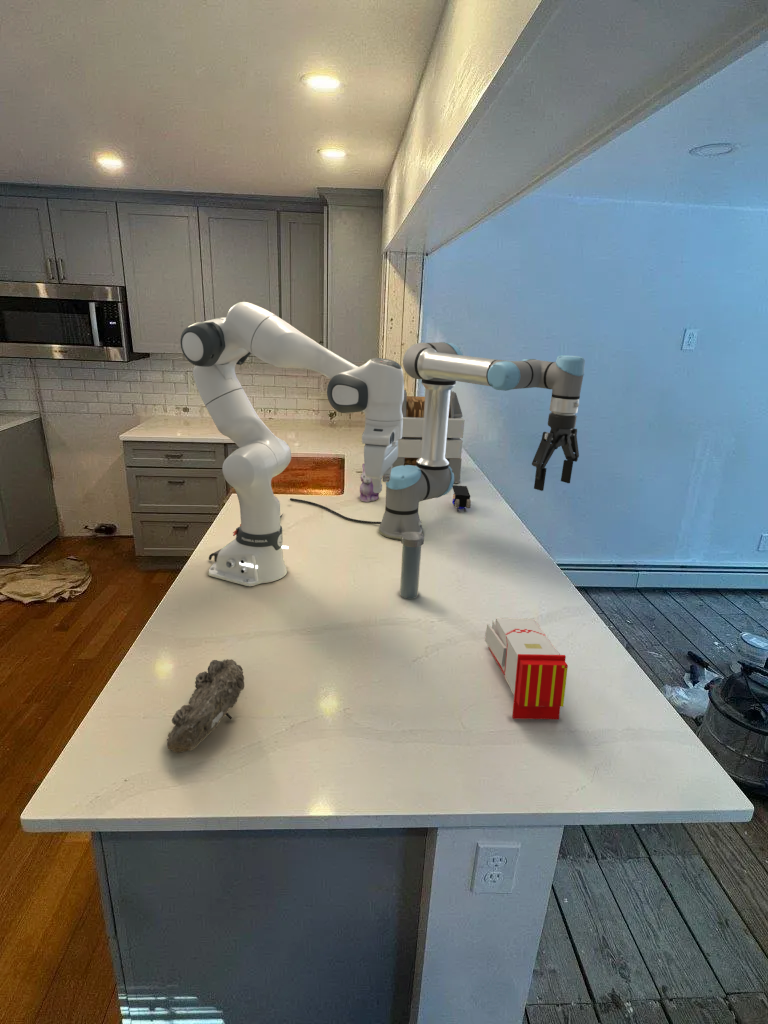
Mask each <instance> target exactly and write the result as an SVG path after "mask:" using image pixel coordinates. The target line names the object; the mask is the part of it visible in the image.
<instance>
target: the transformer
mask: <svg viewBox="0 0 768 1024" xmlns="http://www.w3.org/2000/svg"><path fill="white" fill-rule="evenodd" d="M407 394H408V393H407V390H406V389H404V401H403V404H402V414H403V431H402V439H400V440H398V457H397V460H396V461H395V462H394V463H393V464H392V468H394V467H396V466H401V465H404V466H405V465H413V466H416V461H417V459H418V458H420V457H421V449H422V434H423V419H424V404H425V396H415V395H414V396H413V395H412V396H411V395H407ZM464 429H465V419H464V418H463V411H462V408H461V405H460V402H459V398H458V395H457V392H455V391H453V390H451V392H450V404H449V416H448V428H447V441H446V453H445V458H446V459H447V461H448V462H449V466H450V467H451V469H452V473H454V484H455V483H456V484H459V483H461V472H462V461H463V460H462V453H463V442H464V441H463V440H462V439H463V438H464V431H465V430H464Z"/></svg>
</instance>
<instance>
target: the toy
mask: <svg viewBox="0 0 768 1024" xmlns="http://www.w3.org/2000/svg"><path fill="white" fill-rule="evenodd" d="M484 642H485V643H486V645H487V646H488V650H489V651H490V654H491V655H492V657H493V659H494V660H495V662H496V664H497V666H498V667H499V669H500V671H501V672H502V675H503V676H504V678H505V680H506V682H507V684H508V686H509V688H510V691H511V693H512V694H513V704H512V705H513V706H512V715H511V717H512V719H513V720H560V714H561V708H563V707H564V704H565V695H566V685H567V677H568V668H569V666H568V663H567V662H566V657H567V656H566V654H560V653H559V651H558V650H557V648H556V647H555V646H554V645H553V643H552V642H551V640H550V639H549V638H548V636H547V635H546V634H545V632H544V631H543V629H542V628H541V627H540V625H539V623H537V621H536V620H535V619H534V618H523V617H522V618H521V617H520V618H519V617H516V618H515V617H496V618H495V620H492V622H491V624H490V623H486V629H485V637H484Z"/></svg>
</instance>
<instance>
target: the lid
mask: <svg viewBox="0 0 768 1024" xmlns="http://www.w3.org/2000/svg"><path fill="white" fill-rule="evenodd" d="M424 543H425V535H424V534H423V533H422V534H421V533H419V532H411V531H410V532H404V533H402V535H401V540H400V544H402V546H403V545H405V546H408V547H419V546H421V547H423V545H424Z"/></svg>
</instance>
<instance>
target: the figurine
mask: <svg viewBox="0 0 768 1024" xmlns="http://www.w3.org/2000/svg"><path fill="white" fill-rule="evenodd" d="M361 469H362V473H361V475H360V481H361V484H360V486H359V496H358V498H359V500H360V502H364V503H365V502H366V503H368V502H375V501H376V500H378V499H379V495H380V493H374V492H373V483H372V478H367V477H366V474H365V468H364V463H362V468H361Z"/></svg>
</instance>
